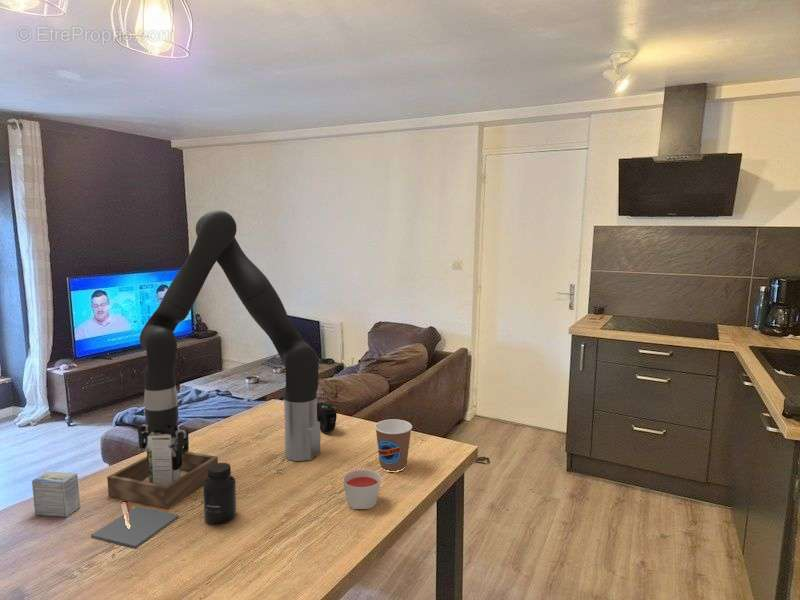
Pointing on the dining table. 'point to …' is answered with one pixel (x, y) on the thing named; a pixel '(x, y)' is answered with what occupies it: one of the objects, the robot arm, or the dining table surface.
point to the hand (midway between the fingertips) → (164, 466)
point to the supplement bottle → (219, 494)
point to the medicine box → (56, 494)
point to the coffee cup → (393, 443)
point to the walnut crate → (133, 489)
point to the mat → (135, 527)
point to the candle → (362, 488)
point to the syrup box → (161, 459)
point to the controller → (326, 417)
